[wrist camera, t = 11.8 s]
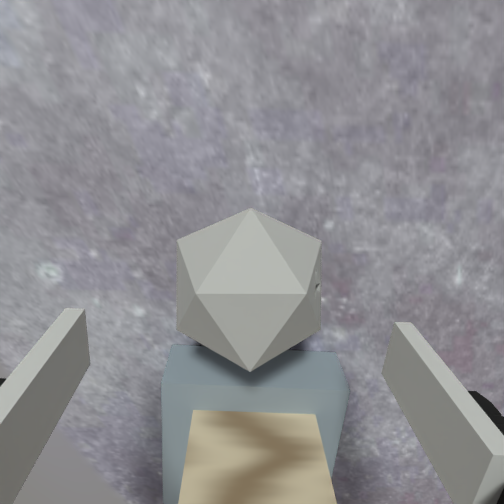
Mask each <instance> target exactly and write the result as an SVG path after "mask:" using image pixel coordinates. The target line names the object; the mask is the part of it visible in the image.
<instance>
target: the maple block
mask: <svg viewBox="0 0 504 504" xmlns="http://www.w3.org/2000/svg"><path fill="white" fill-rule="evenodd" d="M178 504H337V502H336V498H335V494H334V490H333V485H332V481H331V477H330V473H329V469H328V465H327V460H326V456H325V452H324V448H323V444H322V440H321V436H320V431H319V427H318V423H317V419H316V415H315V414H294V413H266V412H237V411H209V410H193V413H192V420H191V426H190V432H189V439H188V445H187V451H186V457H185V464H184V470H183V476H182V483H181V489H180V495H179V502H178Z"/></svg>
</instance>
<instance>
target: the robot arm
mask: <svg viewBox="0 0 504 504" xmlns="http://www.w3.org/2000/svg"><path fill="white" fill-rule="evenodd" d="M89 365H90V356H89V346H88V336H87V326H86V316H85V309H76V308H65V309H64V311H63V312H62V313H61V314H60V315H59V317H58V318H57V319H56V320H55V321H54V323H53V324H52V325H51V326H50V327H49V329H48V330H47V331H46V332H45V333H44V335H43V336H42V337H41V338H40V339H39V341H38V342H37V343H36V344H35V346H34V347H33V348H32V349H31V350H30V352H29V353H28V354H27V355H26V356H25V358H24V359H23V360H22V361H21V362H20V364H19V365H18V366H17V367H16V368H15V370H14V371H13V372H12V373H11V374H10V376H9V377H8V378H7V379H4V378H3V379H2V378H0V504H13V502H14V500H15V498H16V497H17V495H18V493H19V491H20V490H21V488H22V486H23V484H24V482H25V481H26V479H27V477H28V475H29V473H30V471H31V470H32V468H33V466H34V464H35V462H36V460H37V459H38V457H39V455H40V453H41V452H42V450H43V448H44V446H45V445H46V443H47V441H48V439H49V437H50V436H51V434H52V432H53V430H54V428H55V427H56V425H57V423H58V421H59V419H60V418H61V416H62V414H63V412H64V410H65V409H66V407H67V405H68V403H69V401H70V400H71V398H72V396H73V394H74V392H75V390H76V389H77V387H78V385H79V383H80V381H81V380H82V378H83V376H84V374H85V372H86V371H87V369H88V367H89ZM382 375H383V377H384V379H385V380H386V382H387V384H388V386H389V388H390V389H391V391H392V393H393V395H394V397H395V399H396V400H397V402H398V404H399V406H400V408H401V409H402V411H403V413H404V415H405V417H406V418H407V420H408V422H409V424H410V426H411V427H412V429H413V431H414V433H415V435H416V437H417V438H418V440H419V442H420V444H421V446H422V447H423V449H424V451H425V453H426V455H427V456H428V458H429V460H430V462H431V464H432V465H433V467H434V469H435V471H436V473H437V474H438V476H439V478H440V480H441V482H442V484H443V485H444V487H445V489H446V491H447V493H448V494H449V496H450V498H451V500H452V502H453V503H454V504H504V417H503V416H501V413H500V412H499V411H498V410H497V409H496V408H495V406H494V405H493V404H492V403H491V402H490V401H489V400H487V399H486V398H485V397H483V396H482V395H480V394H479V393H478V392H476V391H467V390H466V389H465V388H464V386H463V385H462V384H461V383H460V382H459V380H458V379H457V378H456V377H455V375H454V374H453V373H452V372H451V371H450V369H449V368H448V367H447V366H446V364H445V363H444V362H443V361H442V360H441V358H440V357H439V356H438V355H437V353H436V352H435V351H434V350H433V349H432V347H431V346H430V345H429V344H428V342H427V341H426V340H425V339H424V338H423V336H422V335H421V334H420V333H419V331H418V330H417V329H416V328H415V327H414V325H413V324H412V323H407V322H394V325H393V329H392V333H391V337H390V341H389V345H388V349H387V353H386V357H385V361H384V365H383V369H382Z"/></svg>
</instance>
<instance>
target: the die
mask: <svg viewBox="0 0 504 504" xmlns="http://www.w3.org/2000/svg"><path fill="white" fill-rule="evenodd" d="M177 330H178V331H180V332H181V333H183V334H185V335H187V336H188V337H190V338H192V339H194V340H195V341H197V342H199V343H201V344H202V345H204V346H206V347H207V348H209V349H211V350H213V351H214V352H216V353H218V354H220V355H221V356H223V357H225V358H227V359H228V360H230V361H232V362H234V363H235V364H237V365H239V366H241V367H242V368H244V369H246V370H248V371H249V372H251V371H252V370H254V369H256V368H257V367H259V366H261V365H262V364H264V363H266V362H267V361H269V360H271V359H272V358H274V357H276V356H277V355H279V354H281V353H283V352H284V351H286V350H288V349H289V348H291V347H293V346H294V345H296V344H298V343H299V342H301V341H303V340H304V339H306V338H308V337H309V336H311V335H313V334H314V333H316V332H318V331H319V330H321V240H318V239H316V238H314V237H312V236H310V235H308V234H306V233H303V232H301V231H299V230H297V229H295V228H293V227H291V226H289V225H286V224H284V223H282V222H280V221H278V220H276V219H274V218H271V217H269V216H267V215H265V214H263V213H261V212H259V211H257V210H254V209H252V208H250V209H247V210H245V211H243V212H240V213H238V214H236V215H233V216H231V217H229V218H226V219H224V220H222V221H220V222H217V223H215V224H213V225H210V226H208V227H206V228H203V229H201V230H199V231H196V232H194V233H192V234H190V235H187V236H185V237H183V238H180V239H178V240H177Z"/></svg>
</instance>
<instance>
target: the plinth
mask: <svg viewBox="0 0 504 504" xmlns="http://www.w3.org/2000/svg"><path fill="white" fill-rule="evenodd" d="M349 395H350V389H349V386H348V383H347V381H346V378H345V376H344V373H343V370H342V368H341V365H340V363H339V360H338V357H337V355H336V352H318V351H297V350H286V351H284V352H283V353H281V354H279V355H277V356H276V357H274V358H272V359H271V360H269V361H267V362H266V363H264V364H262V365H261V366H259V367H257V368H256V369H254V370H252V371H251V372H249V371H248V370H246V369H244V368H242V367H241V366H239V365H237V364H235V363H234V362H232V361H230V360H228V359H227V358H225V357H223V356H221V355H220V354H218V353H216V352H214V351H213V350H211V349H209V348H207V347H206V346H192V345H172V347H171V351H170V354H169V357H168V361H167V364H166V368H165V371H164V375H163V378H162V382H161V406H162V472H163V504H178V502H179V495H180V489H181V483H182V476H183V470H184V464H185V457H186V451H187V445H188V439H189V432H190V426H191V420H192V413H193V410H209V411H237V412H266V413H294V414H315V415H316V419H317V423H318V427H319V431H320V436H321V440H322V444H323V448H324V452H325V456H326V460H327V465H328V469H329V473H330V477H331V478H332V473H333V469H334V464H335V459H336V455H337V450H338V446H339V441H340V436H341V432H342V427H343V423H344V418H345V413H346V409H347V404H348V400H349Z"/></svg>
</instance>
